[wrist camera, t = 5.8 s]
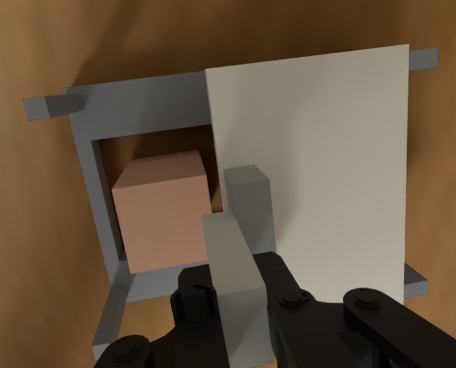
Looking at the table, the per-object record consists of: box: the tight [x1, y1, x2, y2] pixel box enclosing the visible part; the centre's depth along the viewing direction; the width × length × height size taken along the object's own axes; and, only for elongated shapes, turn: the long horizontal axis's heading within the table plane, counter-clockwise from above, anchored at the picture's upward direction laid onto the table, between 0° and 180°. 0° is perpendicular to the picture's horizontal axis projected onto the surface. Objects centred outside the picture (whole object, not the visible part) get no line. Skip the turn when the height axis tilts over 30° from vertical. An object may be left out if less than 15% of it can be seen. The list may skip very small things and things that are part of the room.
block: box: [112, 150, 212, 274], centre depth 23 cm, size 5×5×8 cm
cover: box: [205, 44, 409, 305], centre depth 18 cm, size 10×16×4 cm, turn 7°
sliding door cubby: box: [22, 47, 438, 360], centre depth 23 cm, size 21×16×8 cm
